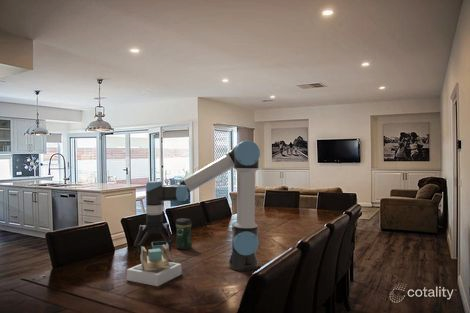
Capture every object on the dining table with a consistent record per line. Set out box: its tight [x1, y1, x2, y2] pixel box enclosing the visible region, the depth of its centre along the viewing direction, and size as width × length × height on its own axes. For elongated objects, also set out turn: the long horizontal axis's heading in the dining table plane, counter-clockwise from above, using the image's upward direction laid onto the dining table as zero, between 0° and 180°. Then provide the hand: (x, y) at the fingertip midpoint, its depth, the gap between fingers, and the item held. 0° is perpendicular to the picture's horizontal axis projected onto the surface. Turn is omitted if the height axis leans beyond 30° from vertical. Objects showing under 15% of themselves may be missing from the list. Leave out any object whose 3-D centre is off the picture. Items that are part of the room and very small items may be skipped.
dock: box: [126, 261, 183, 287], centre depth 170 cm, size 18×18×5 cm
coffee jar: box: [175, 217, 193, 250], centre depth 224 cm, size 10×8×19 cm
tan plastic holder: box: [140, 245, 170, 271], centre depth 170 cm, size 11×12×8 cm
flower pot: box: [151, 240, 168, 251], centre depth 200 cm, size 9×9×9 cm
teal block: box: [147, 248, 162, 261], centre depth 170 cm, size 6×6×4 cm
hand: (154, 259), depth 170 cm, fingers open, 11 cm apart
